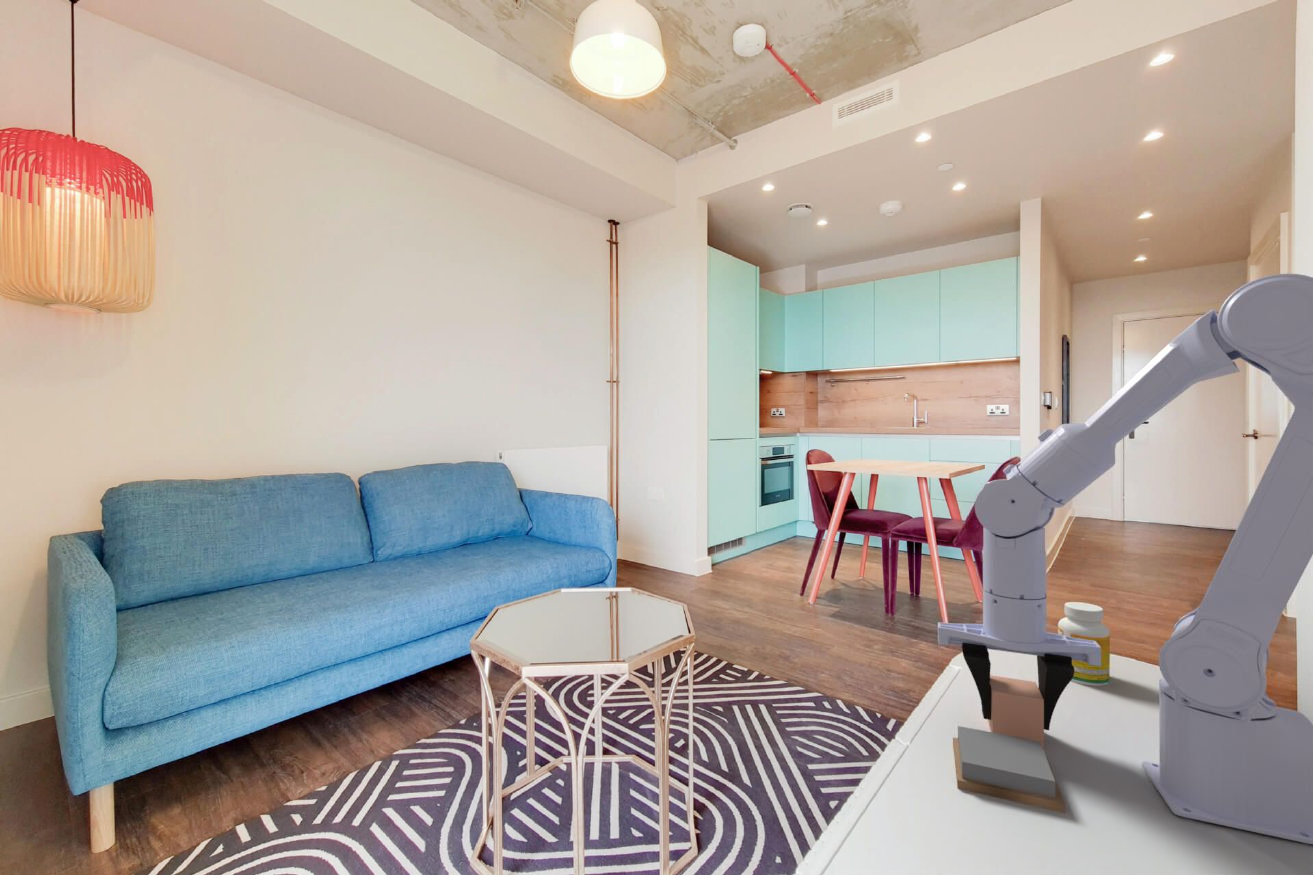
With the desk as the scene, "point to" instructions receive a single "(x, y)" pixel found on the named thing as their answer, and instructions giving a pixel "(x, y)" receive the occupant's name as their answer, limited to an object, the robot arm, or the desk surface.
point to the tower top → (1005, 761)
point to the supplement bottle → (1087, 626)
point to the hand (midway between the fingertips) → (1014, 720)
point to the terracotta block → (1016, 708)
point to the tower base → (1007, 793)
